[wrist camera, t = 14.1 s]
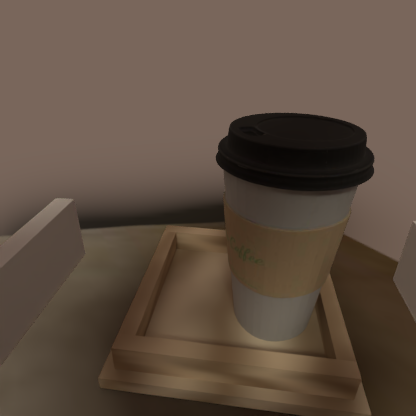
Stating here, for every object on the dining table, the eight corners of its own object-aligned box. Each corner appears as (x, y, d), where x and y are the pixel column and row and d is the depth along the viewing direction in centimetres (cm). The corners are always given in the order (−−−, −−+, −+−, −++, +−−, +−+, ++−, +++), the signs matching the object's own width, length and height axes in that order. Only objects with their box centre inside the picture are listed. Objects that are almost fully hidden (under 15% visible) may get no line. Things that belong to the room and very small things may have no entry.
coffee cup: (188, 312, 27) (183, 126, 20) (259, 261, 33) (275, 104, 26) (289, 391, 21) (333, 168, 14) (354, 312, 27) (407, 127, 20)
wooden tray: (320, 258, 35) (325, 234, 34) (367, 424, 21) (380, 393, 19) (162, 244, 37) (161, 220, 36) (100, 387, 22) (93, 357, 21)
